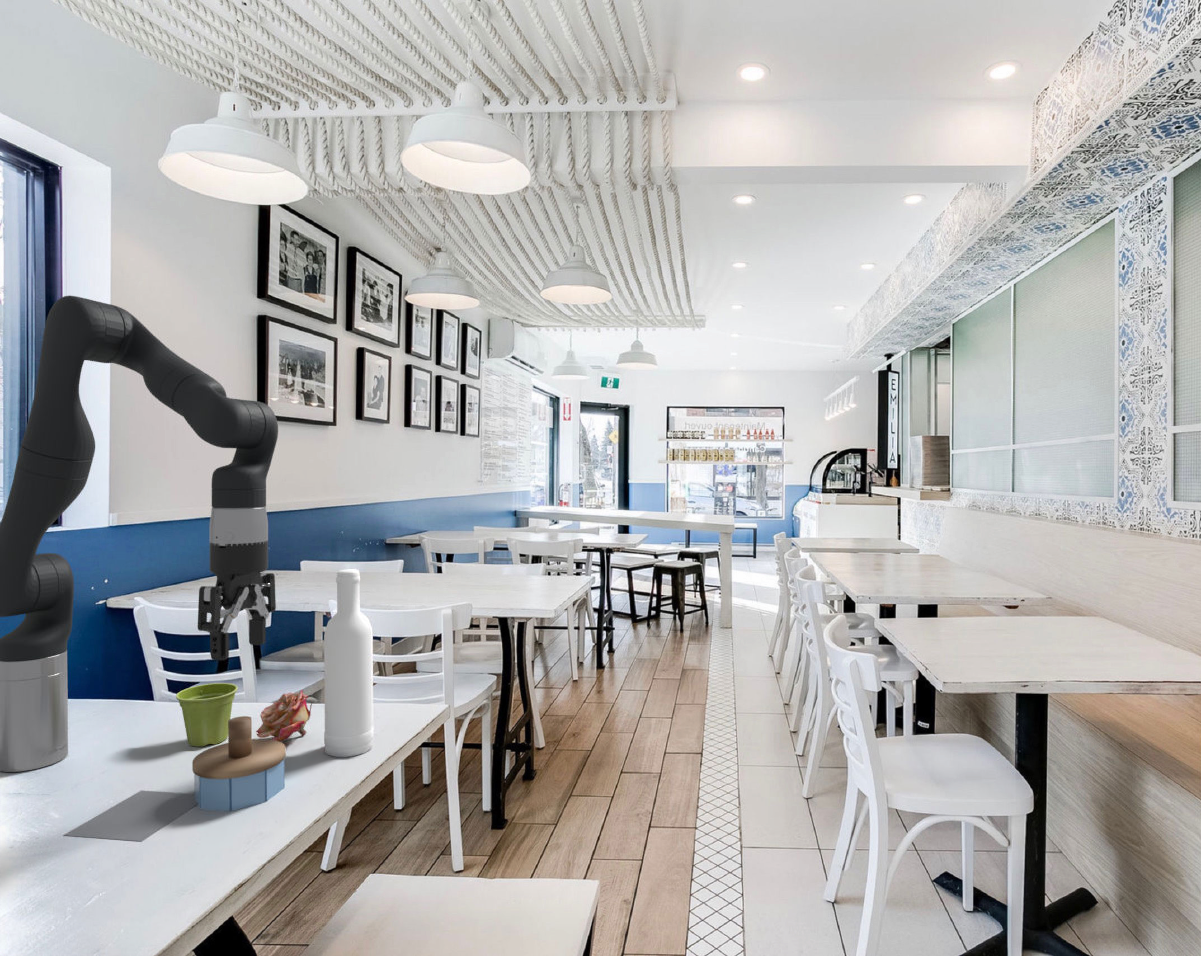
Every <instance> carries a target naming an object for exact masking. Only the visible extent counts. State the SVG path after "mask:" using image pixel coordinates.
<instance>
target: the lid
mask: <svg viewBox="0 0 1201 956" xmlns="http://www.w3.org/2000/svg"><path fill="white" fill-rule="evenodd" d="M252 736H253V735H252V716H247V715H244V716H235V717H233V718H230V720H229V721H228V737H227V740H228V741H227V743H222V744H218V745H216V746H213V747H210V748H208V749H205V750H203V751H202V752H199V754H197V755H195V756H194V757H193V759H192V762H191V764H192V765H191V766H192V767H191V768H192V769H191V770H192V773H193V775H194V774H195V775H197V776H199V777H203V778H208V779H230V778H238V777H244V776H248V775H252V774H256V773H259V772H262V771H265V770H268V769H270V768H272V767H274V766H276V765H278V764H279V763H280V762H282V761H283V760H284V761H285V758H286V755H287V754H286V751H287V750H286V745H285V744H284V743H283V742H279V741H275V740H272V739H270V738H269V739H267V738H252Z"/></svg>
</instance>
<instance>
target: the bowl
mask: <svg viewBox="0 0 1201 956" xmlns="http://www.w3.org/2000/svg"><path fill="white" fill-rule="evenodd" d="M193 775H194V794H195V799H196V801H197V803H198V808H199V809H200V810H206V811H207V810H209V811H211V810H212V811H223V812H224V811H225V812H230V811H236V810H241V809H245V808H248V807H252V806H256V805H260V804H264V803H266V802H268V801H269V800H271V799H272V798H274V796H276V795H277V794H279V793H281V792H282V790H284V789H285V785H286V784H285V759H284V760H283V761H282V762H280V763H279V764H278V765H276V766H274V767H272V768H270V769H268V770H265V771H262V772H259V773H256V774H252V775H248V776H244V777H238V778H230V779H208V778H203V777H199V776H197V775H195V774H194V773H193Z"/></svg>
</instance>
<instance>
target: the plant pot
mask: <svg viewBox="0 0 1201 956" xmlns="http://www.w3.org/2000/svg"><path fill="white" fill-rule="evenodd" d="M238 688H239V687H238V685H237V684H234V683H229V682H228V683H227V682H218V683H217V682H215V683H207V684H206V683H205V684H199V685H196V686H192V687H191V686H190V687H188V688H185V689H183V690H180V691H179V692H177V693H176V695H175V697H176V698H175V699H176V700H177V701H178V703H179V706H180V708H181V711H182V716H183V723H184V728H185V734H186V739H187V744H188V745H189V746H192V747H197V748H198V747H199V748H202V747H205V746H207V745H211V744H212V745H217V744H218V745H219V744H220V743H222V742H225V740H228V721H229V720H230V719H231V715H232V709H233V702H234V699H235V696H236V693H237V692H238Z"/></svg>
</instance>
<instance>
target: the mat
mask: <svg viewBox="0 0 1201 956" xmlns="http://www.w3.org/2000/svg"><path fill="white" fill-rule="evenodd" d="M197 805H198V803H197V801H196V799H195V793H189V792H188V793H186V792H185V793H183V792H170V791H157V790H156V791H155V790H154V791H153V790H140V791H139V790H138V792H136V793H134V794H133V795H131V796H129V797H127V798H126V799H124V800H122V801H121V802H118V803H117V804H115V805H114V806H111V807H109V808H108V809H106V810H105V811H102V812H101V813H99V814H97V815H95V816H94V817H92V818H91V819H89V820H87V821H85V822H84V823H82V824H80V825H79V826H77V827H75V828H73V829H72V830H70V831H68V832H67V833H65V834H63V837H64V836H65V837H75V838H76V837H77V838H89V839H90V838H91V839H102V840H115V841H128V842H139V843H141V842H143V841H145V840H147V838H150V837H151V836H152V835H154V834H155V833H157V832H158V831H160V830H161V829H163V828H164V827H166V826H168V825H169V824H171V823H172V822H173V821H175V820H176V819H178V818H179V817H181V816H182V815H185V813H187V812H188V811H190V810H192V809H193V808H195V807H197Z"/></svg>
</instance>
